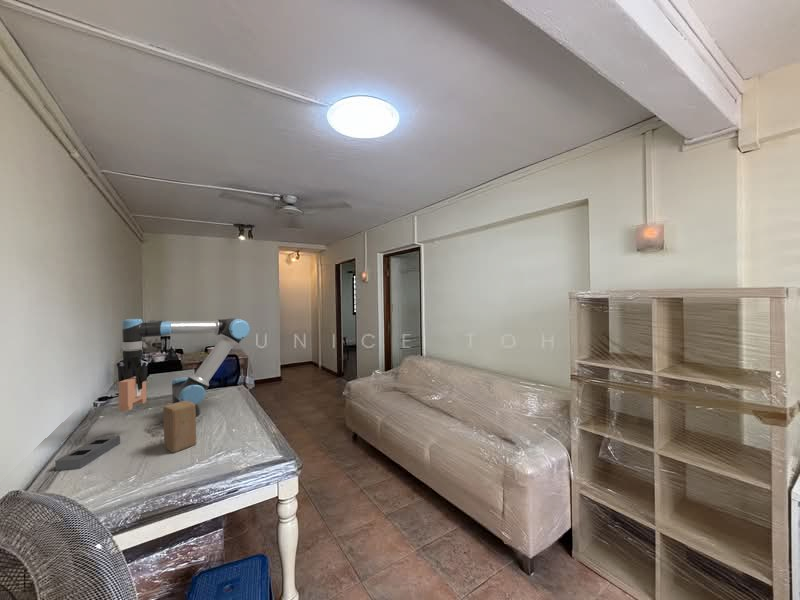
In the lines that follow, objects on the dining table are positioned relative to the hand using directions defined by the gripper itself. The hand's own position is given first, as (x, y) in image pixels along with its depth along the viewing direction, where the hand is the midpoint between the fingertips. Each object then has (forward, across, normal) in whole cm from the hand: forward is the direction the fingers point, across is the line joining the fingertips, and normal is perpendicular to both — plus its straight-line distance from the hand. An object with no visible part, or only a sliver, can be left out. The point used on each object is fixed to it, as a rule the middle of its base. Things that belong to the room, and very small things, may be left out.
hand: (133, 396), depth 158 cm
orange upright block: (+5, 0, 0) cm, 5 cm away
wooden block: (+21, -29, +14) cm, 39 cm away
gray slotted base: (+21, +6, +17) cm, 28 cm away
